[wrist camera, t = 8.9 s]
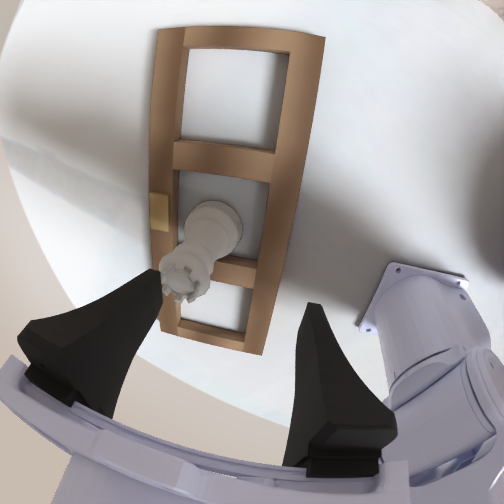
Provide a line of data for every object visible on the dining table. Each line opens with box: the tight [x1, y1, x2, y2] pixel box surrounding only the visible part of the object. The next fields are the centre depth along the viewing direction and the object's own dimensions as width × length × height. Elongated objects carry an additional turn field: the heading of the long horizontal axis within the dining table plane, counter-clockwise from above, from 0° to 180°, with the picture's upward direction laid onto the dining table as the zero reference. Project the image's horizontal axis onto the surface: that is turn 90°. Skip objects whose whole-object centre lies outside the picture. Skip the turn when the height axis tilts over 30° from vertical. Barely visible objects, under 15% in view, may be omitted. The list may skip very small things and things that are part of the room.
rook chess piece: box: [159, 200, 243, 303], centre depth 18 cm, size 4×4×8 cm
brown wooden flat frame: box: [149, 26, 326, 356], centre depth 21 cm, size 11×28×2 cm, turn 173°
